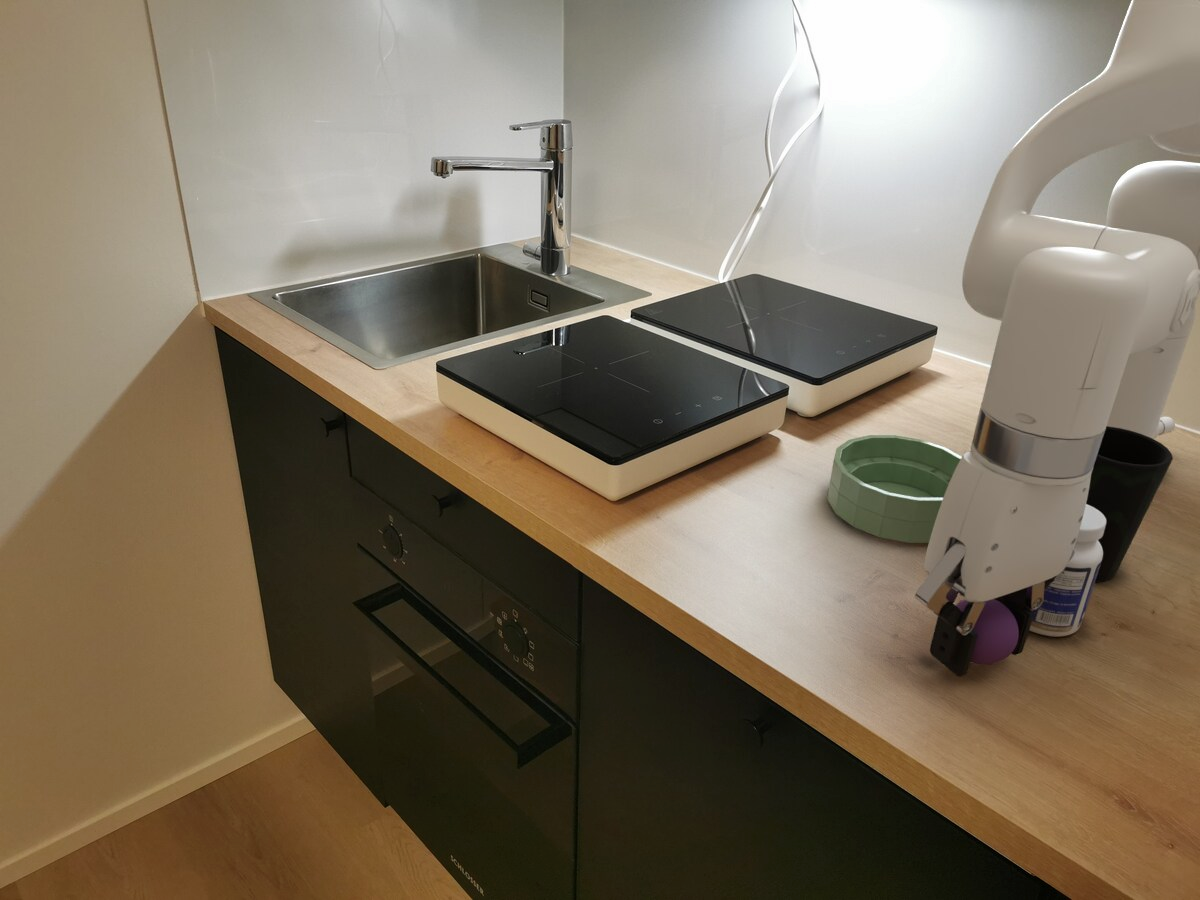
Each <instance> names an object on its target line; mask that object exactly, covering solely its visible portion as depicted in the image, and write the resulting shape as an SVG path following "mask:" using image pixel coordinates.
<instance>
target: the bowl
mask: <svg viewBox="0 0 1200 900" xmlns="http://www.w3.org/2000/svg"><path fill="white" fill-rule="evenodd" d="M961 458H962V455H959V454H958V453H956V452H955V451H952V450H950V449H949V448H947V447H945V446H942V445H939V444H935V443H933V442H929V441H927V440H923V439H920V438H914V437H908V436H902V435H895V434H872V435H871V434H868V435H864V436H860V437H854V438H850V439H848V440H846V441H844V443H842V444H840V445H839V446H838V447H836V449H835V453H834V457H833V462H832V467H831V468H832V469H831V473H830V474H831V475H830V480H829V485H828V492H827V496H826V500H827V501H828V503H829V505H830V507H831V509H832V511H833V512H834V513H835V515H837V516H838V517H840V519H842V520H844V521H845V522H846V523H847V524H849V525H851V526H852V527H854V528H855V529H857V530H860V531H863V532H865V533H867V534H870V535H872V536H875V537H877V538H882V539H887V540H891V541H896V542H903V543H907V544H908V543H909V544H929V541H930V537H931V534H932V531H933V527H934V524H935V521H936V518H937V515H938V512H939V509H940V506H941V503H942V500H943V497H944V495H945V492H946V490H947V487H948V485H949V482H950V480H951V478H952V476H953V473H954V471H955V469H956V467H957V465H958V463H959V461H960V460H961Z"/></svg>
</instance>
